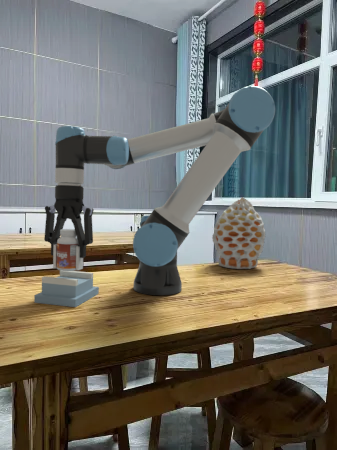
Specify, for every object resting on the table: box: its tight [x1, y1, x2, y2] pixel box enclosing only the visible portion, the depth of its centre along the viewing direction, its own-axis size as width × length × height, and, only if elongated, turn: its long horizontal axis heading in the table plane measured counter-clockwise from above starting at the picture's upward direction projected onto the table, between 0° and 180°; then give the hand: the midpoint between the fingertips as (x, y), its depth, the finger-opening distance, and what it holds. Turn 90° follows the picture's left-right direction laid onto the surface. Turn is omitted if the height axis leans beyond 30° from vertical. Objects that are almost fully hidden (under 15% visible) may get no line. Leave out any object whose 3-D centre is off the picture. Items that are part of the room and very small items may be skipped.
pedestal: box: [33, 270, 100, 308], centre depth 102 cm, size 12×14×6 cm
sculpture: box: [211, 197, 266, 270], centre depth 156 cm, size 21×22×30 cm
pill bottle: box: [56, 228, 79, 271], centre depth 101 cm, size 6×6×11 cm
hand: (68, 268), depth 101 cm, fingers closed on pill bottle, 6 cm apart
